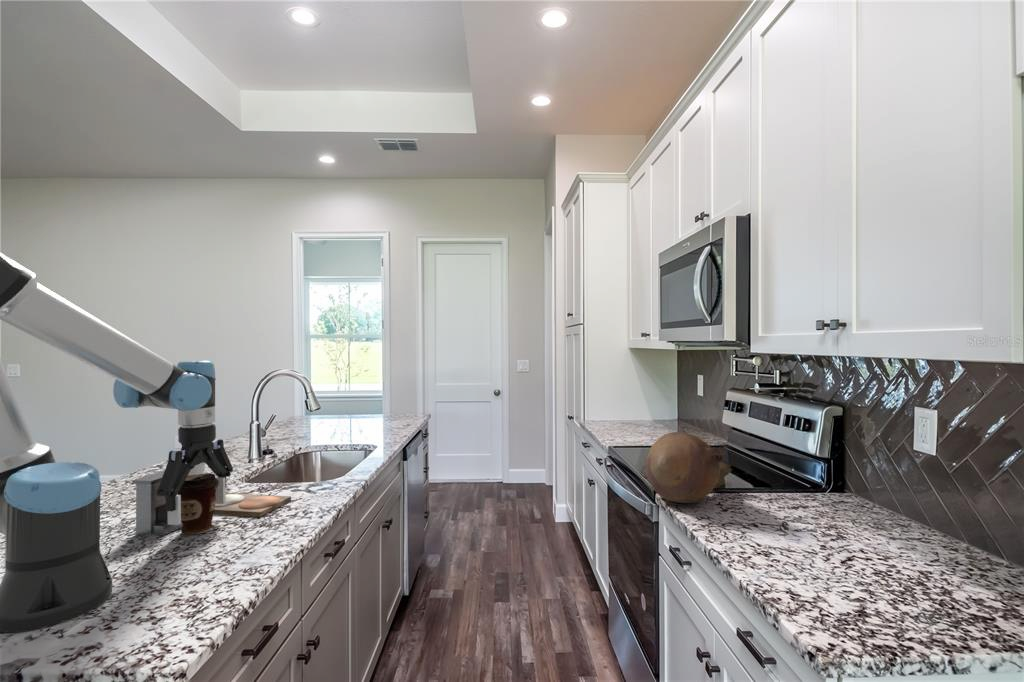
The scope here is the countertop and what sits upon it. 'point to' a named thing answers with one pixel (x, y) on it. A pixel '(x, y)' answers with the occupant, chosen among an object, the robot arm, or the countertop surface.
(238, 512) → the walnut board
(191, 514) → the coffee cup
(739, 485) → the countertop surface
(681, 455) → the jug
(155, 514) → the miniature fireplace
